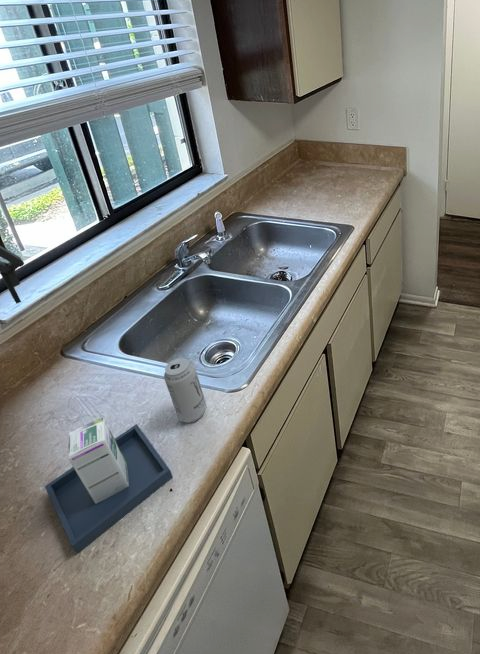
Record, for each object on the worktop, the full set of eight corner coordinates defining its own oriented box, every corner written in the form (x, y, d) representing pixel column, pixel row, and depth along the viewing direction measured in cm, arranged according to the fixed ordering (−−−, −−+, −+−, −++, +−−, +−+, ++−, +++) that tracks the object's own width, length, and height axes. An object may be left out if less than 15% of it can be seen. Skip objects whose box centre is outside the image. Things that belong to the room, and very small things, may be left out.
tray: (49, 494, 84) (44, 486, 83) (139, 431, 96) (136, 423, 95) (77, 554, 75) (71, 546, 74) (172, 477, 87) (169, 469, 86)
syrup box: (129, 487, 85) (106, 438, 79) (94, 506, 82) (67, 457, 76) (127, 463, 89) (104, 415, 83) (92, 480, 86) (67, 432, 80)
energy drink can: (205, 420, 98) (190, 373, 92) (176, 428, 97) (159, 380, 90) (208, 398, 103) (194, 352, 97) (181, 405, 102) (164, 358, 95)
